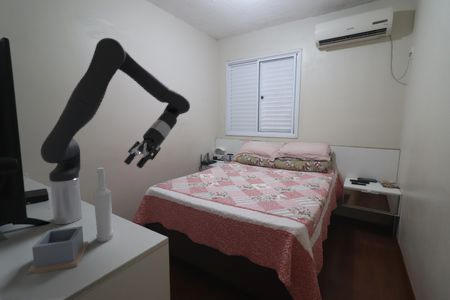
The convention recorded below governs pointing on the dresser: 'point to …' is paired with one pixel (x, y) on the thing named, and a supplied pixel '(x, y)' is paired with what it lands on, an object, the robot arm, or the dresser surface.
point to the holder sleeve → (58, 250)
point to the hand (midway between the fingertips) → (132, 165)
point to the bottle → (103, 209)
